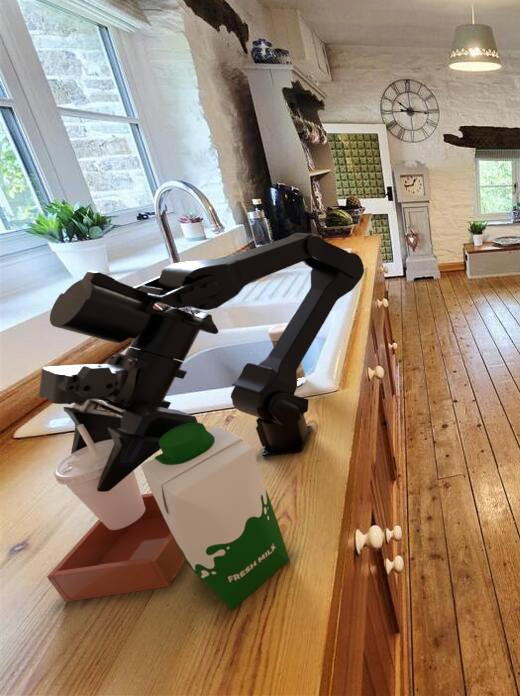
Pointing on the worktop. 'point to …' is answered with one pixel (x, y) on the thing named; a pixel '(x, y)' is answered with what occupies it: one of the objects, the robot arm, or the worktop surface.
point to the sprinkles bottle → (274, 336)
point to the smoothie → (84, 478)
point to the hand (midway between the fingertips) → (87, 482)
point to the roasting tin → (120, 558)
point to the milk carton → (217, 509)
